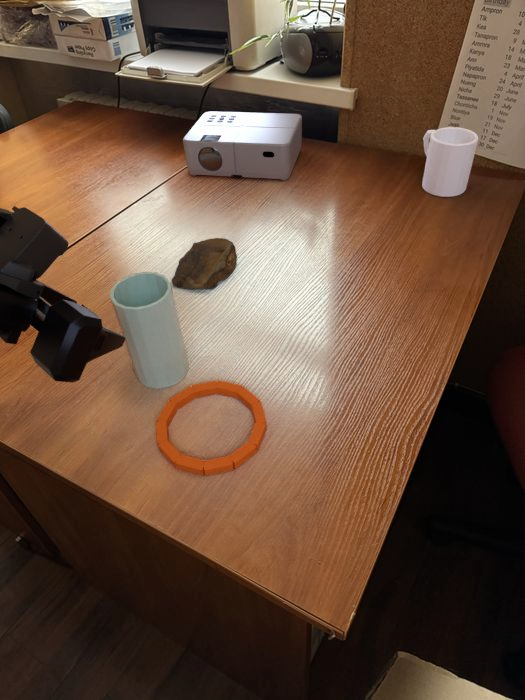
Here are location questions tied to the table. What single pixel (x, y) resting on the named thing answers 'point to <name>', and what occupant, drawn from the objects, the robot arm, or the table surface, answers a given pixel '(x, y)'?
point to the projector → (244, 144)
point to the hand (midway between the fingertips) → (98, 322)
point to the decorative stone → (206, 264)
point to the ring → (218, 463)
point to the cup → (151, 328)
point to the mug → (448, 160)
